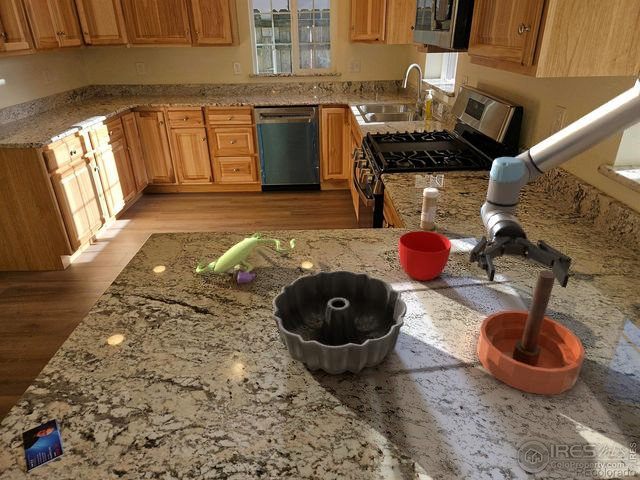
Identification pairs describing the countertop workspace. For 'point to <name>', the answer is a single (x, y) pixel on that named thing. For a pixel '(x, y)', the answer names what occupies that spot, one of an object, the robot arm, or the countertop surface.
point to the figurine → (240, 258)
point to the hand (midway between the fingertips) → (528, 278)
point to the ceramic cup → (423, 254)
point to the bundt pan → (339, 320)
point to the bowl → (554, 361)
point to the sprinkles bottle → (429, 208)
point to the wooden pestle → (535, 321)
